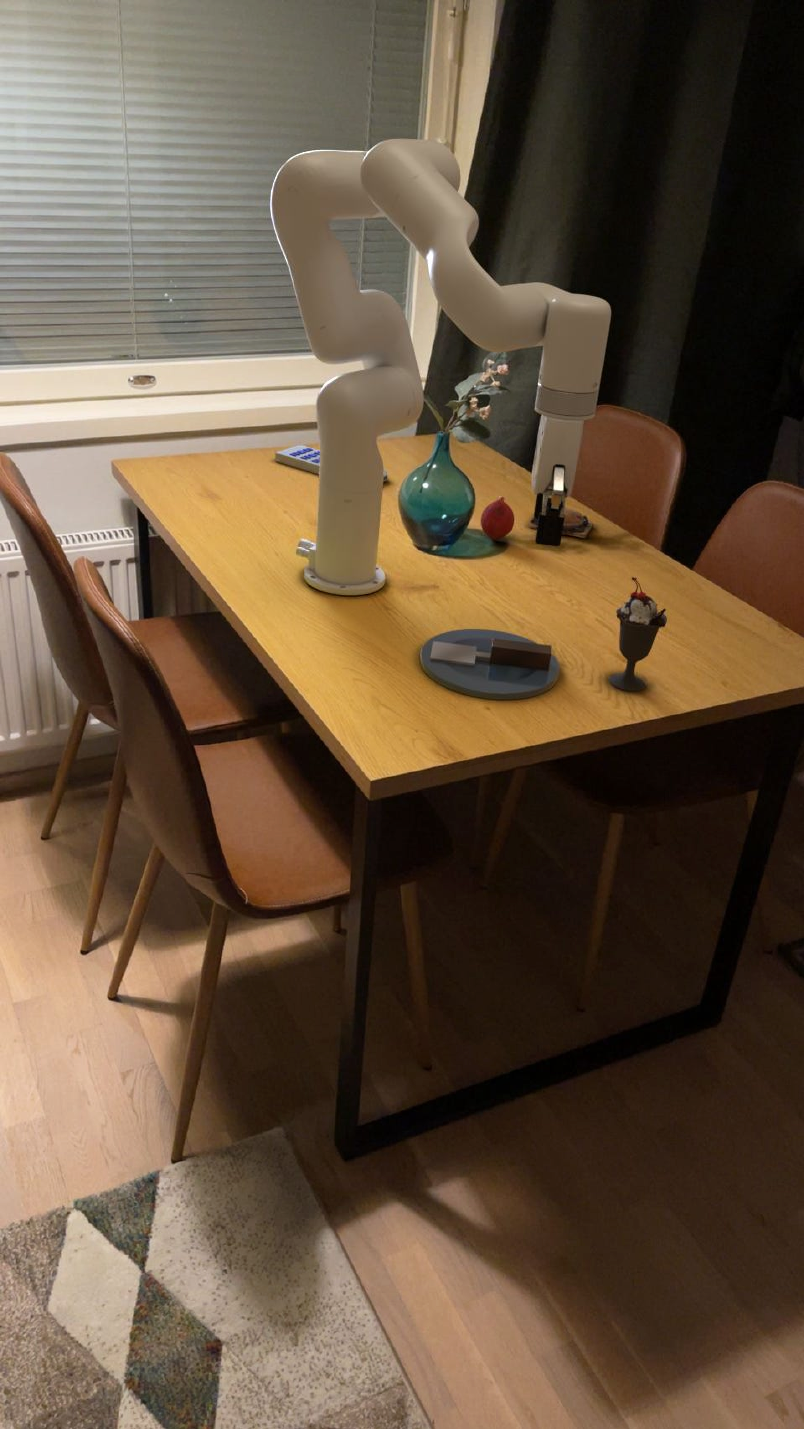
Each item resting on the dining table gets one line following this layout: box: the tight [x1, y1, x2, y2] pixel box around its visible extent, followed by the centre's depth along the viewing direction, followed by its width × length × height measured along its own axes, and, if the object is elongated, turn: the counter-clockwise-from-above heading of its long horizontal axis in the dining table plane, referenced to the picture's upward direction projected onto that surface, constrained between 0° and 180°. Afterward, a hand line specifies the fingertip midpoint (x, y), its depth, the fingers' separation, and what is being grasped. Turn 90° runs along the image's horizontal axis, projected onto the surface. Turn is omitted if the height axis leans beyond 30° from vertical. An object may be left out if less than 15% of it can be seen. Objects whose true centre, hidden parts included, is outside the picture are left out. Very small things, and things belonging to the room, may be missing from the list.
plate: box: [419, 628, 560, 701], centre depth 153 cm, size 19×19×1 cm
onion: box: [480, 495, 515, 542], centre depth 193 cm, size 6×6×8 cm
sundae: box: [608, 576, 668, 692], centre depth 149 cm, size 7×7×15 cm
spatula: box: [430, 638, 552, 671], centre depth 152 cm, size 16×5×3 cm, turn 84°
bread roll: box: [528, 507, 594, 539], centre depth 203 cm, size 11×8×4 cm
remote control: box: [274, 444, 389, 483], centre depth 220 cm, size 8×23×2 cm, turn 56°
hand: (546, 531), depth 148 cm, fingers open, 9 cm apart
